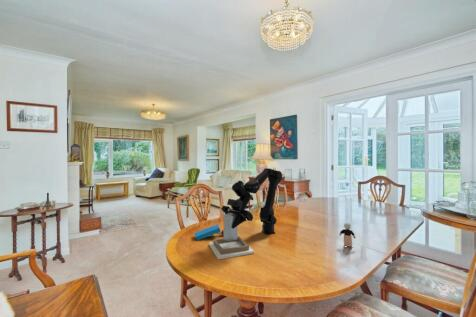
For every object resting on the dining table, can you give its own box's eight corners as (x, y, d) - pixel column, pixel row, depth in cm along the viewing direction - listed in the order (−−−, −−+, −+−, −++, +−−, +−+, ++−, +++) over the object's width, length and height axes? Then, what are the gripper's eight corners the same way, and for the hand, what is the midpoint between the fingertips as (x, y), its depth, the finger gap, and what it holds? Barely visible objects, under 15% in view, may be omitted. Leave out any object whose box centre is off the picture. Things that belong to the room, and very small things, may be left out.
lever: (199, 248, 127) (228, 236, 132) (195, 237, 126) (225, 225, 131) (197, 243, 133) (226, 232, 138) (194, 232, 133) (222, 222, 138)
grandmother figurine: (354, 246, 118) (354, 222, 118) (355, 249, 114) (356, 224, 114) (338, 244, 120) (338, 220, 120) (339, 247, 117) (339, 222, 117)
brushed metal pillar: (230, 236, 118) (230, 212, 118) (237, 239, 115) (237, 214, 114) (223, 239, 115) (223, 214, 114) (230, 242, 111) (230, 216, 111)
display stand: (240, 240, 126) (240, 234, 126) (253, 253, 109) (253, 246, 109) (209, 244, 120) (209, 238, 120) (218, 259, 103) (218, 252, 103)
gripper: (223, 190, 123) (208, 214, 116) (249, 194, 111) (234, 222, 103) (233, 202, 129) (219, 226, 121) (259, 207, 117) (245, 234, 109)
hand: (228, 227), depth 113 cm, fingers closed on brushed metal pillar, 5 cm apart
